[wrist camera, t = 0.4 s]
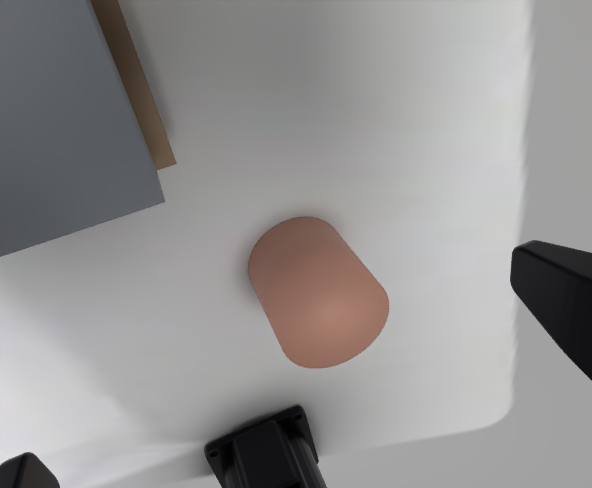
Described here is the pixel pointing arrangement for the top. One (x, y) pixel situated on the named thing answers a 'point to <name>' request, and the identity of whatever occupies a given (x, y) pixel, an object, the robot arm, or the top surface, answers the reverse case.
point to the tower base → (134, 80)
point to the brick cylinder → (316, 293)
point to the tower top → (64, 127)
